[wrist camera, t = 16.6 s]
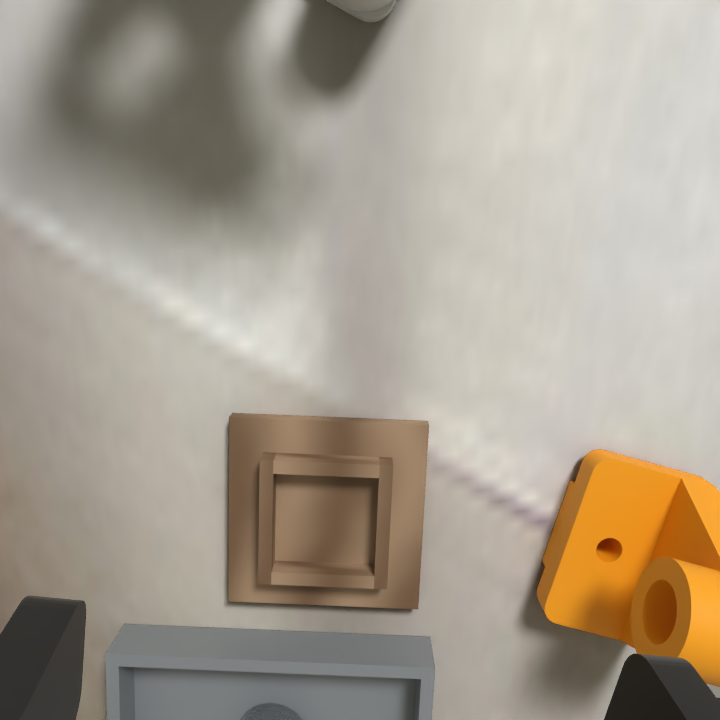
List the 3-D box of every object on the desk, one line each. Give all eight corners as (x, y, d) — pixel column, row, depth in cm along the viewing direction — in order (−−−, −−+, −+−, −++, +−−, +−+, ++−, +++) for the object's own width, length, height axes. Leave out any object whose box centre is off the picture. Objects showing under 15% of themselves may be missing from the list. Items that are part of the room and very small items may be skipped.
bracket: (583, 441, 41) (672, 522, 29) (694, 471, 41) (826, 563, 29) (529, 596, 42) (591, 731, 31) (635, 624, 43) (738, 769, 31)
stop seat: (231, 592, 43) (223, 614, 40) (232, 413, 40) (223, 424, 38) (416, 600, 43) (419, 622, 40) (427, 421, 40) (431, 432, 38)
